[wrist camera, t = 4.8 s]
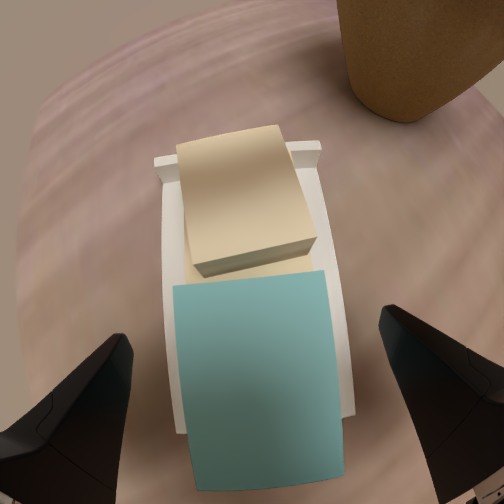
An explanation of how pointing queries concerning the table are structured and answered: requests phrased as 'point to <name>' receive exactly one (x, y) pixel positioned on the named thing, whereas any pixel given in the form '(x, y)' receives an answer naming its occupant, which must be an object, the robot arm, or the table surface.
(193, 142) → the offcut upper
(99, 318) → the table surface
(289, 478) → the teal rectangular block
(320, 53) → the table surface
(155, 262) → the table surface
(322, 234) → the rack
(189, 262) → the offcut lower
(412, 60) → the plant pot
